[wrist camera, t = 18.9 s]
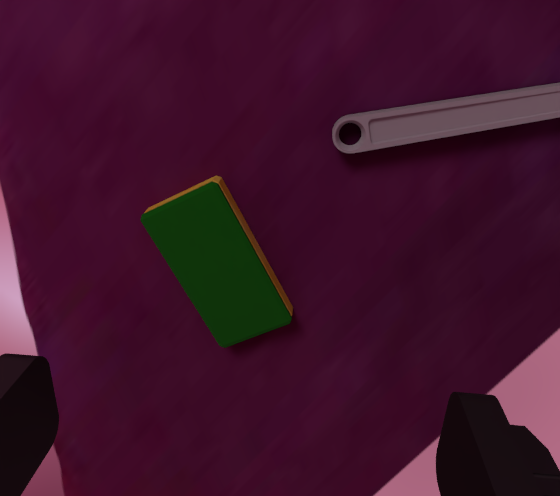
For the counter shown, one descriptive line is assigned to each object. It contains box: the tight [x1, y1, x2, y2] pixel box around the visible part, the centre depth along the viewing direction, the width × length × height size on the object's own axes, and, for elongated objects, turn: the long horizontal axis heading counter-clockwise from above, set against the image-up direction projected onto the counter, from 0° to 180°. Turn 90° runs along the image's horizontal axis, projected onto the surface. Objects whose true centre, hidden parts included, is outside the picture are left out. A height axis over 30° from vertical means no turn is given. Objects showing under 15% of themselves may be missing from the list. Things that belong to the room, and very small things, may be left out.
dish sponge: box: [141, 176, 293, 348], centre depth 42 cm, size 7×14×2 cm, turn 26°
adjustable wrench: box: [332, 83, 560, 153], centre depth 34 cm, size 25×6×2 cm, turn 96°
